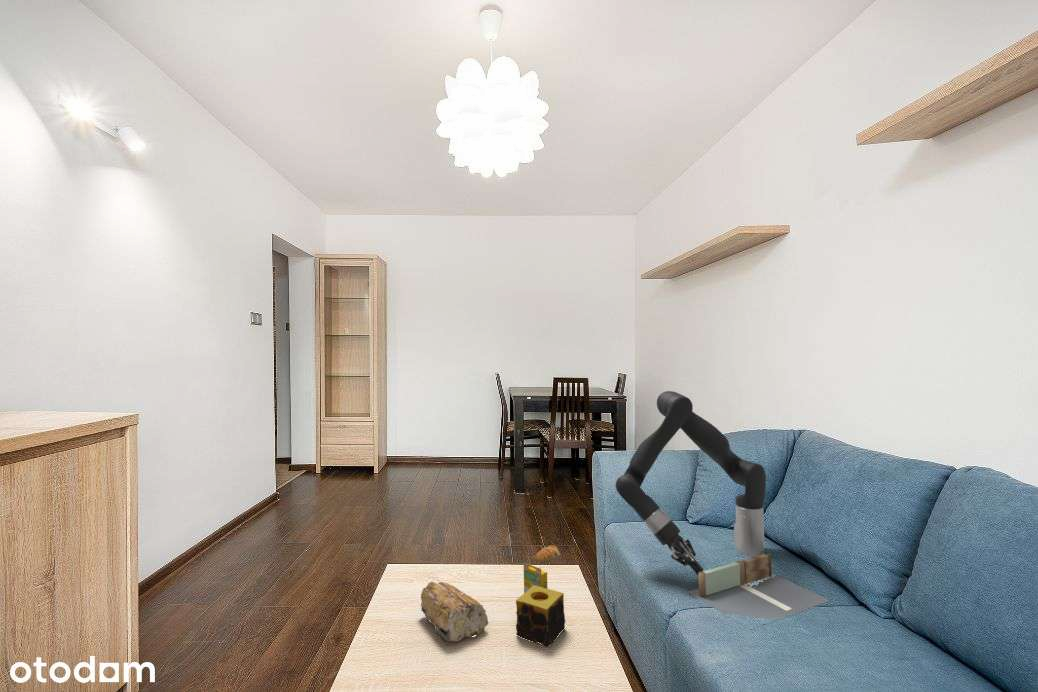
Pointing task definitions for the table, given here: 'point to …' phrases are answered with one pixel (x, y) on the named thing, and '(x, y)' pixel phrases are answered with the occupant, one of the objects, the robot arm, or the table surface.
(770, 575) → the walnut fence
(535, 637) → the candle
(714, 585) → the green panel
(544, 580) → the crayon box
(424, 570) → the table surface
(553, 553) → the pastry
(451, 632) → the petrified wood
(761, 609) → the card
